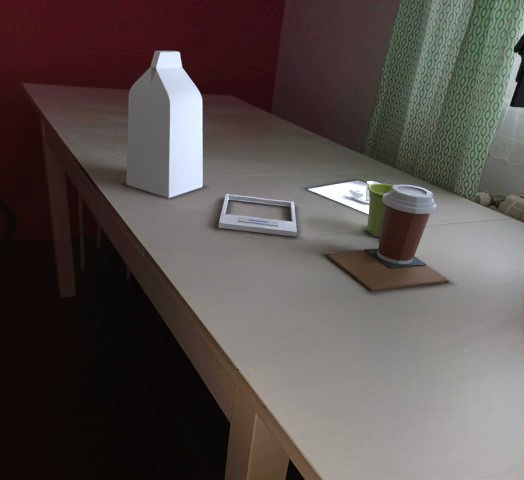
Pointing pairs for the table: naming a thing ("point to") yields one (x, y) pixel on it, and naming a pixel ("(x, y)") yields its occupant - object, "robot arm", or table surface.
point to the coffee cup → (404, 222)
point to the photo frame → (258, 223)
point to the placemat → (385, 270)
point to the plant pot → (376, 207)
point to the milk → (165, 129)
